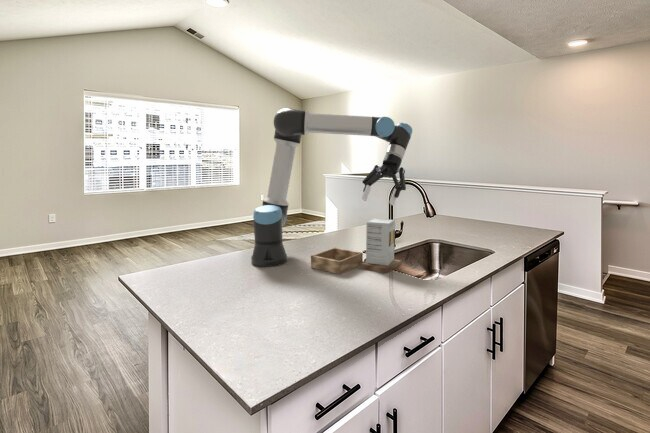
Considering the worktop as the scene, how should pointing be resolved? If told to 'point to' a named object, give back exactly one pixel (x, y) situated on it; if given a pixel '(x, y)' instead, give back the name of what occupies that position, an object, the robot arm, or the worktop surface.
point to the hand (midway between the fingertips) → (377, 201)
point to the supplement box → (380, 241)
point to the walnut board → (381, 266)
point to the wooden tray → (330, 263)
